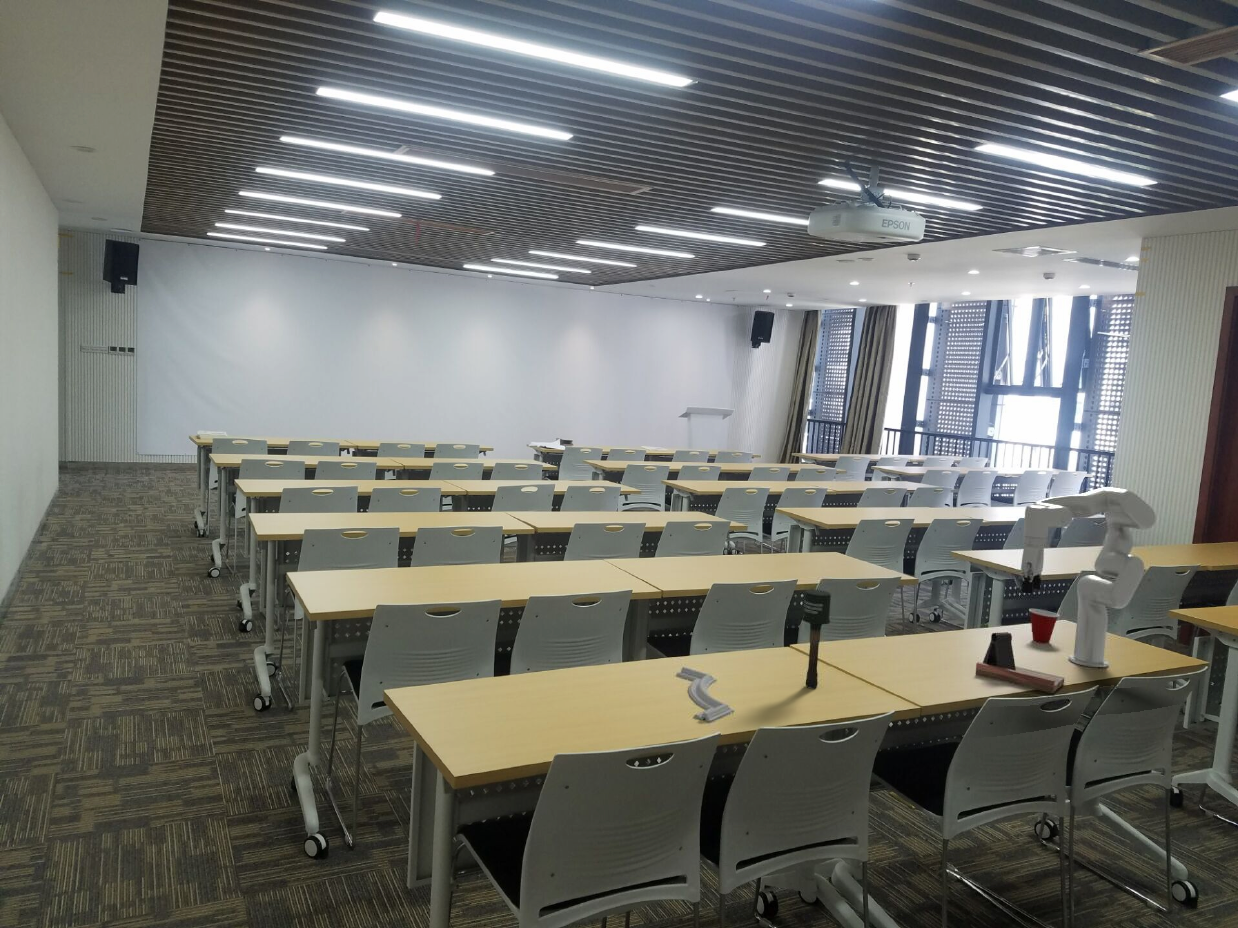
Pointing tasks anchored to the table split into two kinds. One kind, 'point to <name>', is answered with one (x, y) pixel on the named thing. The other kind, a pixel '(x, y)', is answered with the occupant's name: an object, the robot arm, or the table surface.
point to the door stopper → (1000, 651)
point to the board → (1025, 683)
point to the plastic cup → (1042, 624)
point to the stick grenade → (815, 627)
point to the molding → (704, 695)
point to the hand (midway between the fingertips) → (1031, 590)
